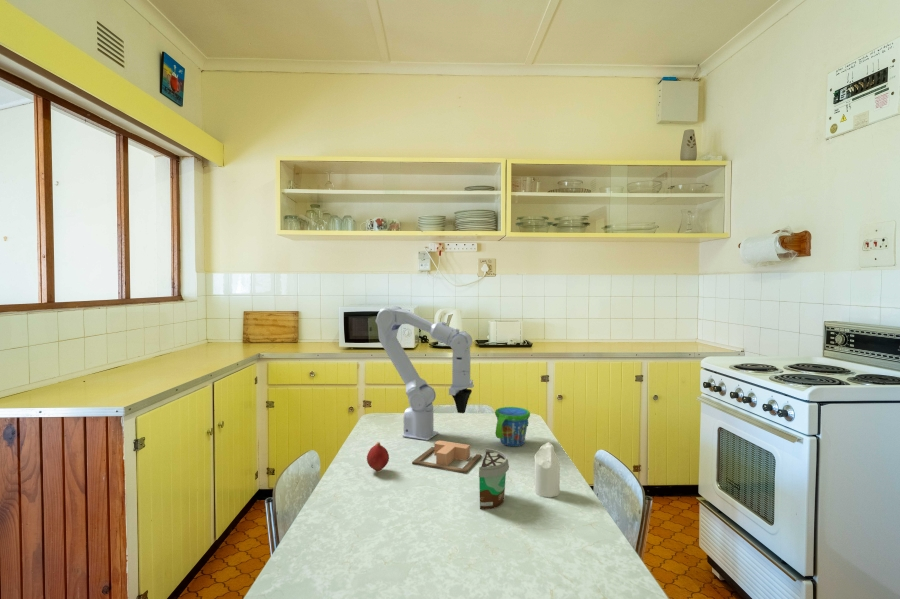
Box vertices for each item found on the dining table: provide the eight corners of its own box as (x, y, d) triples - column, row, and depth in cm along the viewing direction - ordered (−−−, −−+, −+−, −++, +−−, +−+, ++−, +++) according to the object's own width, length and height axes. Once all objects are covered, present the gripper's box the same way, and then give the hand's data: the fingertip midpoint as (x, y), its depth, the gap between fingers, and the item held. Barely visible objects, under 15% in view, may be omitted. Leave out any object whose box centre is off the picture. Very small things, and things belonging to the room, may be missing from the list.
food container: (506, 515, 101) (506, 470, 101) (478, 512, 103) (478, 467, 102) (510, 489, 113) (511, 449, 113) (485, 487, 115) (485, 447, 114)
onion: (362, 473, 123) (362, 443, 123) (375, 465, 128) (375, 437, 128) (380, 477, 121) (380, 447, 120) (393, 469, 126) (392, 440, 125)
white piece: (533, 446, 110) (535, 438, 115) (533, 495, 110) (535, 485, 116) (559, 448, 108) (560, 440, 114) (559, 498, 109) (560, 488, 114)
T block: (438, 451, 138) (438, 440, 138) (470, 457, 134) (470, 445, 134) (425, 462, 130) (424, 450, 130) (457, 468, 126) (457, 456, 126)
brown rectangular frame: (412, 463, 129) (412, 461, 129) (431, 448, 141) (431, 446, 141) (465, 473, 123) (465, 471, 123) (481, 456, 134) (481, 454, 134)
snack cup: (514, 433, 155) (514, 402, 154) (541, 441, 147) (541, 409, 147) (483, 444, 144) (483, 412, 144) (509, 454, 136) (509, 419, 136)
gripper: (463, 375, 140) (463, 420, 140) (481, 367, 153) (481, 408, 153) (442, 373, 143) (442, 417, 143) (461, 365, 156) (461, 405, 156)
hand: (461, 412), depth 149 cm, fingers closed
